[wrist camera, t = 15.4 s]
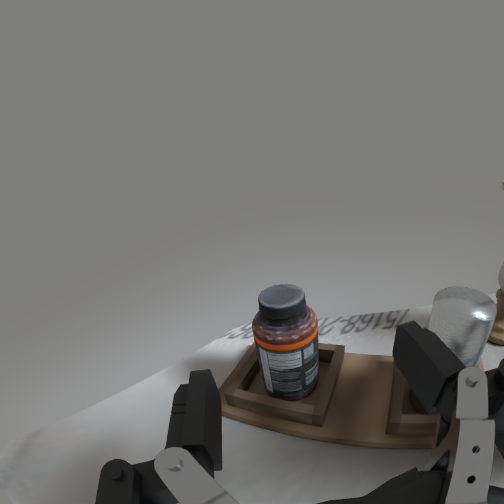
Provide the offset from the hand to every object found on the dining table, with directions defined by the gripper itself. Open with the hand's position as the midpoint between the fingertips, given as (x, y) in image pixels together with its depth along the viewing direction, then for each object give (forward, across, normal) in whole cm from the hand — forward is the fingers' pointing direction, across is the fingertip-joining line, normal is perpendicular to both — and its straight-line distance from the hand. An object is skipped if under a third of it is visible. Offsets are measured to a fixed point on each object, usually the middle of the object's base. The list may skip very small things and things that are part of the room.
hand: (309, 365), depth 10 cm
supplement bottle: (+12, 0, +15) cm, 19 cm away
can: (+4, -14, +15) cm, 21 cm away
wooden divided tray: (+8, -7, +16) cm, 19 cm away
